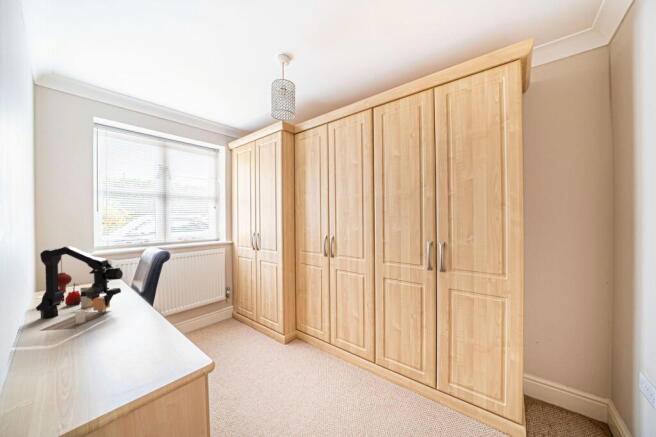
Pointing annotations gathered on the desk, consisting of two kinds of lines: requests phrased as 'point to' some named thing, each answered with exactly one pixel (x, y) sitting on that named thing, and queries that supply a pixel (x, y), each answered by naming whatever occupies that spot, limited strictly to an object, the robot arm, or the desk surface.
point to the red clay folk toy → (73, 298)
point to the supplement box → (84, 300)
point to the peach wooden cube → (99, 303)
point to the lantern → (63, 280)
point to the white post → (80, 316)
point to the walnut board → (74, 321)
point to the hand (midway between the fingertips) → (101, 306)
